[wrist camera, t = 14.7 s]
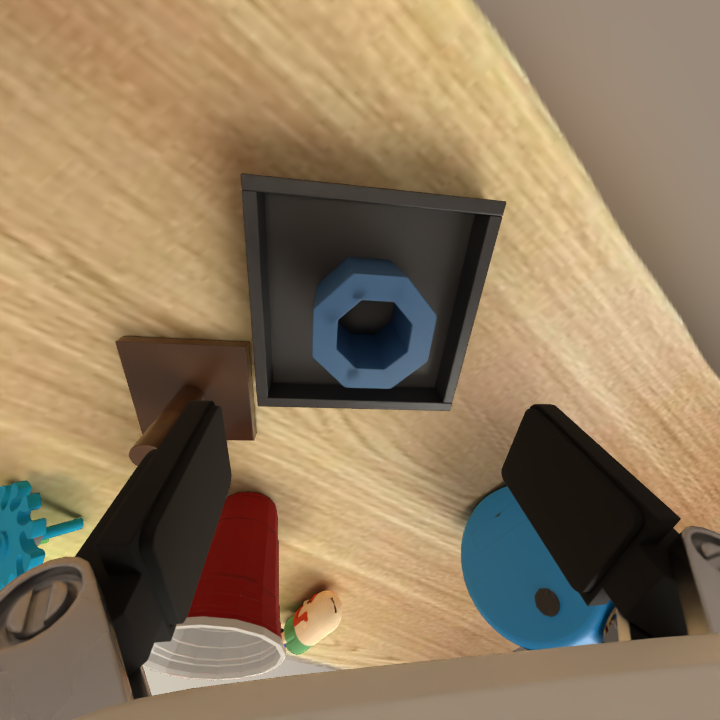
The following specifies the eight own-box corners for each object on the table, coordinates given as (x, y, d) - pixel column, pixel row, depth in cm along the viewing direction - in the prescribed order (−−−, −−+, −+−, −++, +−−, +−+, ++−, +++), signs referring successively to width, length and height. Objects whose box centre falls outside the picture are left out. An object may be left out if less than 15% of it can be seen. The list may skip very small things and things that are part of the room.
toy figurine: (308, 610, 46) (351, 573, 41) (317, 647, 43) (365, 613, 38) (256, 630, 41) (299, 591, 36) (262, 675, 38) (311, 639, 33)
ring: (317, 254, 21) (313, 270, 16) (419, 262, 21) (445, 279, 16) (315, 348, 24) (311, 386, 19) (404, 352, 24) (422, 390, 20)
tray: (252, 176, 19) (239, 172, 16) (485, 201, 20) (507, 201, 18) (264, 386, 25) (257, 406, 23) (439, 392, 27) (450, 411, 25)
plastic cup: (179, 527, 32) (104, 686, 22) (214, 459, 29) (145, 612, 18) (275, 552, 36) (251, 701, 25) (318, 494, 32) (311, 640, 21)
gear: (20, 467, 25) (23, 604, 22) (104, 456, 30) (116, 566, 27) (-39, 507, 28) (-43, 631, 25) (46, 492, 34) (51, 592, 31)
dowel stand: (123, 335, 23) (34, 392, 16) (249, 341, 24) (216, 397, 17) (150, 431, 27) (88, 509, 20) (256, 433, 28) (232, 507, 21)
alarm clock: (472, 541, 38) (548, 724, 24) (441, 521, 36) (506, 712, 22) (565, 482, 34) (714, 660, 21) (537, 455, 32) (683, 637, 19)
